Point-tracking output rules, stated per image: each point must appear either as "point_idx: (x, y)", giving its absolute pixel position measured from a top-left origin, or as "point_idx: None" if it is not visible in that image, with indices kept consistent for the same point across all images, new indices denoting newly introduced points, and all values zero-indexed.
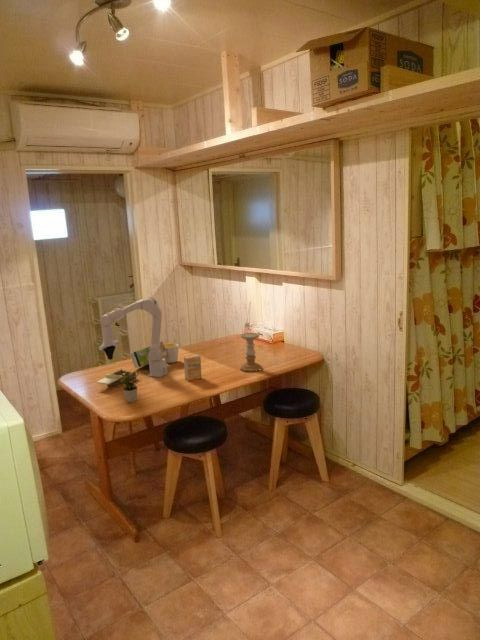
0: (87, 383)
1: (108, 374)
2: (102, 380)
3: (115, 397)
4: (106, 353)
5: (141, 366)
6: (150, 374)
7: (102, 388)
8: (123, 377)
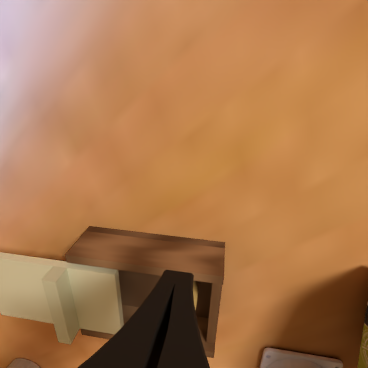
0: (38, 110)
1: (51, 294)
2: (9, 273)
3: (10, 324)
4: (125, 336)
5: (364, 323)
6: (270, 365)
7: (38, 239)
8: (107, 337)
